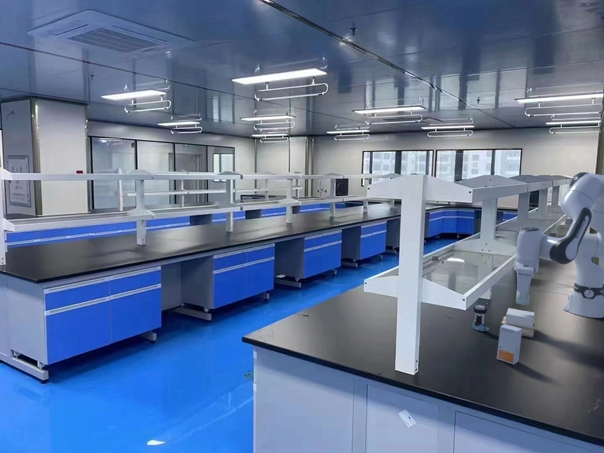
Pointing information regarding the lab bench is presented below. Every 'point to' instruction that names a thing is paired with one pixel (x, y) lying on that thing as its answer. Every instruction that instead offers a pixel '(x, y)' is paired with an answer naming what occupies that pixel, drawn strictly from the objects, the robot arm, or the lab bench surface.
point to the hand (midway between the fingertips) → (522, 299)
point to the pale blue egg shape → (527, 298)
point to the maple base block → (525, 330)
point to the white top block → (519, 318)
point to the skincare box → (509, 344)
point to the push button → (479, 318)
